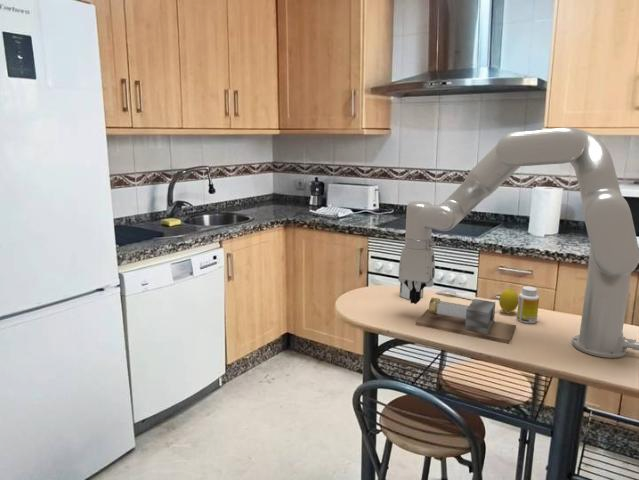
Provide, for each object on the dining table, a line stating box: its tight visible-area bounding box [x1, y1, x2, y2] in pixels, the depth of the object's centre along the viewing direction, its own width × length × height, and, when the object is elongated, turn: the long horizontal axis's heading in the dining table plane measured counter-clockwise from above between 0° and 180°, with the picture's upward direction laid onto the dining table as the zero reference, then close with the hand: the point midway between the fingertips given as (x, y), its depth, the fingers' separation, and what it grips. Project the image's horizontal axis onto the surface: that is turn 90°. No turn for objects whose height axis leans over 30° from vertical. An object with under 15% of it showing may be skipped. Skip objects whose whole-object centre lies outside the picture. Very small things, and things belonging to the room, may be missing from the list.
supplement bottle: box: [516, 286, 540, 324], centre depth 148 cm, size 6×6×10 cm
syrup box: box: [399, 281, 424, 301], centre depth 167 cm, size 6×6×14 cm
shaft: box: [428, 297, 469, 319], centre depth 145 cm, size 12×5×5 cm, turn 61°
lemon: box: [499, 288, 519, 314], centre depth 154 cm, size 6×6×8 cm
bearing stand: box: [415, 298, 517, 344], centre depth 143 cm, size 26×12×7 cm, turn 61°
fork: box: [435, 289, 475, 301], centre depth 168 cm, size 3×21×3 cm, turn 57°
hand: (414, 302), depth 150 cm, fingers closed
